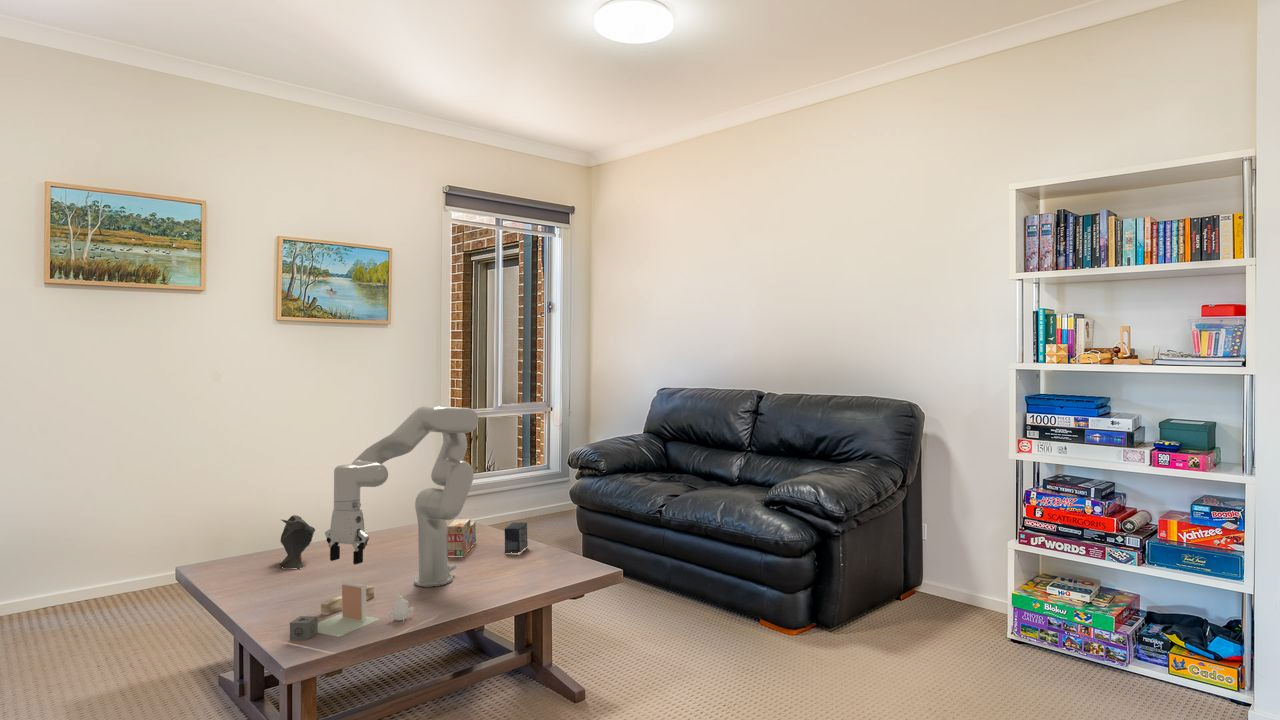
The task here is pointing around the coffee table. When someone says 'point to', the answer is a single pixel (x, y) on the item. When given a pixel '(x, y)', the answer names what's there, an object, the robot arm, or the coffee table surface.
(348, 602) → the cream tile
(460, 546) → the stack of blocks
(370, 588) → the tan wavy bar
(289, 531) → the dark grey sculpture
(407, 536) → the coffee table surface
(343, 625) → the sage mat
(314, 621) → the dice cube
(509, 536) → the small box
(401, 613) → the rocket toy
